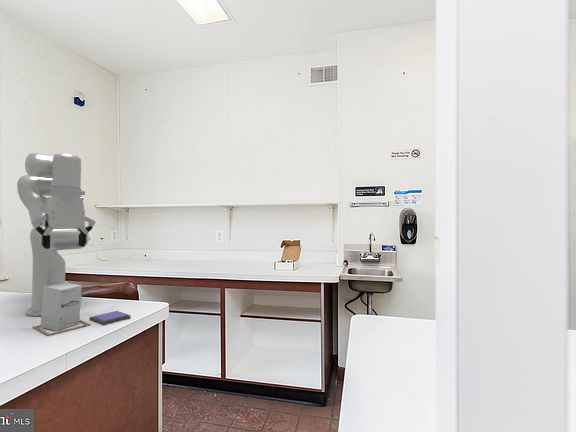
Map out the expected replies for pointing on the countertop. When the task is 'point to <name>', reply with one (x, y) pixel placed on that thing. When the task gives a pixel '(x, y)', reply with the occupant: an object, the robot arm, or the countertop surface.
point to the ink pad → (110, 317)
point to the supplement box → (61, 306)
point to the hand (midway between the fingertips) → (64, 247)
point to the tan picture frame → (62, 330)
